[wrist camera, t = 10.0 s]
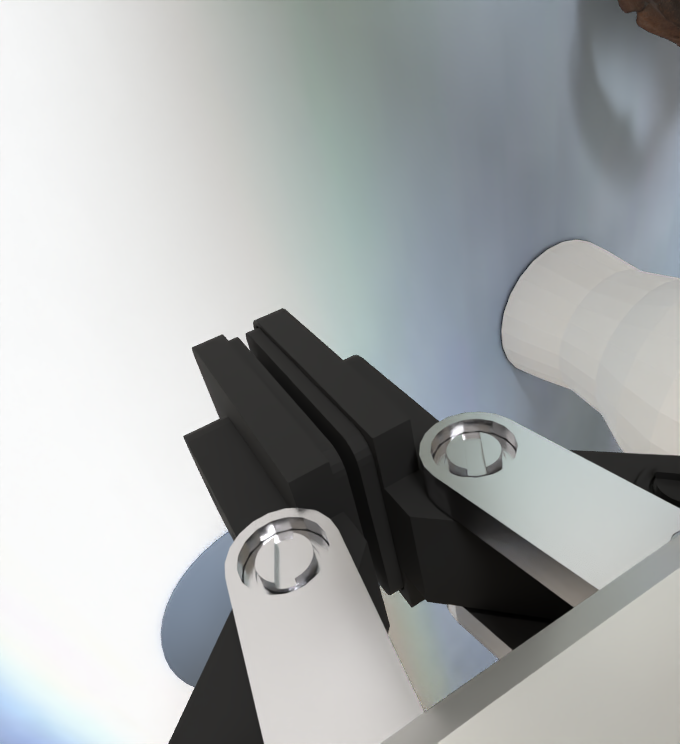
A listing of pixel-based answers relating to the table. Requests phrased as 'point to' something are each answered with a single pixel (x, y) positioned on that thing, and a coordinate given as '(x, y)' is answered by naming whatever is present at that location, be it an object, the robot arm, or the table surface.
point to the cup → (602, 340)
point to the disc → (197, 613)
